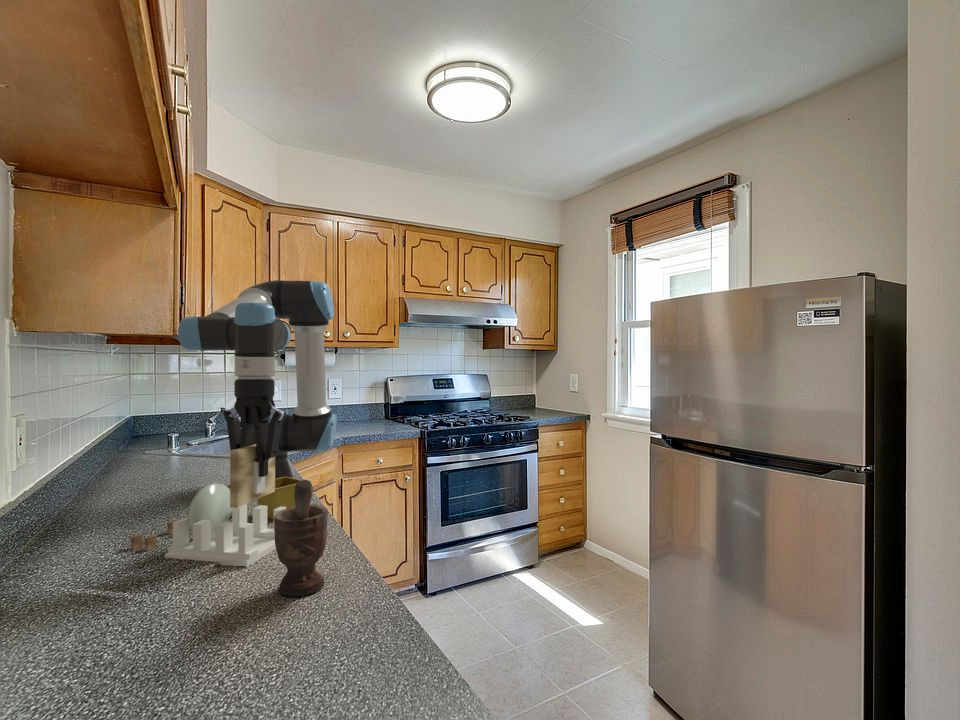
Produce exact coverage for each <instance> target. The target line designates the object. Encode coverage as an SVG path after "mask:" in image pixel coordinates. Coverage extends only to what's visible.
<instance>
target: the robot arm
mask: <svg viewBox="0 0 960 720" xmlns="http://www.w3.org/2000/svg"><path fill="white" fill-rule="evenodd" d="M333 301H334V300H333V296H332V292H331V288H330V287H329V285H328V284H327V283H326V282H324V281H316V280H283V279H282V280H281V279H280V280H279V279H278V280H277V279H276V280H275V279H274V280H269V281H264V282H262V283H261V282H260V283H257V284H255V285H252V286H249V287H247V288H246V289H244V290H242V291H241V292H240V294H238V296H237V298H235V299H234V300H232V301H231V302H229V303H227V304H225V305H223V306H222V307H219V308H218V309H216V310H215V311H213V312H211V313H209V314H207V315H205V316H197V315H195V316H186V317H183V318H182V319H181V321H180V322H179V324H178V327H177V329H178V330H177V335H178V340H179V343H180V345H181V346H182V348H183V349H185V350H187V351H200V352H205V351H206V352H207V351H210V352H211V351H234V376H235V377H237V379H235V380H234V382H233V383H234V384H233V385H234V387H233V389H234V390H233V391H234V393H233V395H234V396H235V398H236V399H235V402H234V406H233V407H231V408H230V409H226V410H224V411H223V412H222V415H223V417H224V419H225V422H226V426H227V434H228V441H229V448H230V451H231V450H235V449H239V448H243V447H247V446H251V445H255V444H256V450H257V459H255V462H254V472H253V494H258V493H260V492H263V491H265V476H267V475H268V460H269V459H270V458H272V457H275V479H277V478H281V477H290V478H294V474H293V472H292V469H291V465H290V463H289V460H288V457H289V456H288V453H294V452H298V453H299V452H317V453H318V452H323V451H328V450H330V449H331V448H332V447H333V445H334V441H335V439H336V438H335V437H336V432H337V425H338V424H337V423H338V419H337V417H338V416H337V415H336V414H334V413H332V408H331V406H329V405H328V404H327V395H326V391H327V390H326V366H325V365H326V363H325V362H326V360H325V357H326V355H325V330H326V328H327V327H328V326H329V323H330V322H329V321H331V320H333V319H334V316H335V312H334V311H335V307H334V302H333ZM282 320H288V325H287V324H286V323H285V322H283V321H282ZM290 328H291V329H292V330H294V350H295V352H294V355H295V375H296V398H297V406H296V407H295V408H294V409H293V410H292V414H289V412H288V410H286V409H285V410H281V409H279V408H277V407H276V404H275V402H274V396H275V383H276V381H275V380H274V379H273V378H272V377H274V376H275V372H276V368H275V367H276V364H275V361H276V360H275V359H276V357H275V356H276V355H275V352H278V351H281V350H283V349H285V348H286V347H287V346H288V345H289V343H290V341H291V337H292V332H291V330H290Z"/></svg>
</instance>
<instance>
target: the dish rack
mask: <svg viewBox="0 0 960 720" xmlns="http://www.w3.org/2000/svg"><path fill="white" fill-rule="evenodd" d="M284 509H286V507H281V506H280V507H278V508H276V509H274V516H275V515H276V513H278V512H279V511H281V510H284ZM177 520H178V519H177ZM272 526H273V528H269V527H268V518H267V506H265V505H258V506H255V507H254V508H252V522H251V523H250V522H248V503H247V504H245V505H243V506H240V507H238V508H233V507H232V517H231V521H228V522H227V521H225V522H222V523H220V524H218V525H216V536H215V537H213V538H211V520H201V521H199V522H197V523H194V524H193V534H192V540H191V541H190V538H189V537H190V533H189V524H188V518H180V519H179V520H178V521H175V522H173V535H172V545H171V546H169V547H168V549H167V550H168V551H167V552H166V553H164V558H167V559H179V560H191V561H204V562H215V563H216V564H221V565H220V566H225V565H233V566H232V567H236V566H245V567H244V568H249V567H250V566H251V565H250V564H252V565H253V564H255V563H256V562H258V561H260V560H261V559H263V558H264V557H266V556H268V555H269V554H271V553H272V552H274V551H275V550H276V546H275V529H274V524H273V525H272ZM273 550H274V551H273ZM270 552H271V553H270ZM262 557H263V558H262ZM259 559H260V560H259ZM254 562H255V563H254ZM249 565H250V566H249Z"/></svg>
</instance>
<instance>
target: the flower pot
mask: <svg viewBox="0 0 960 720" xmlns="http://www.w3.org/2000/svg"><path fill="white" fill-rule="evenodd" d="M301 480H302V479H299V478H295V477H293V478H290V477H281V478H277V479H275V492H273V493H270V494H268V495H266V496H263V497H261V498H259V499H257V504H258V506H259V505H265V506H267V519H271V520H274V509H276V508H278V507H280V506H281V507H286V508H289V507H294V506H296V505H295V499H294V491H295V486H296V484H297V483H298V482H299V481H301Z"/></svg>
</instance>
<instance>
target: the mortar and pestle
mask: <svg viewBox="0 0 960 720" xmlns="http://www.w3.org/2000/svg"><path fill="white" fill-rule="evenodd" d="M300 480H301V481H299V482H298V483H297V484H296V486H295V491H294V499H295V505H296V506H294V507H289V508H286V509H284V510H281V511H279V512H278V513H276V515H275V516H274V519H273V525H274V529H275V546H276V549H275V550H276V553H277V554H276V555H277V557H278V561H280V563H281V564H282V565H284V566H285V567H286V569H287V571H286V573H285V574H284V576H283V577H282V578H281V581H280V583H279V586H278V592H279V594H281V595H282V596H287V597H297V596H302V597H304V596H303V595H306V596H309V595H308V594H311V593H314V592H316V591H317V592H319V591H320V590H322V587H324V585H325V578H324V574H323V573H322V572H320V571H319V570H318V569H317V568H316V563H317V562H318V561H320V559H321V558H322V556H323V554H324V552H325V548H326V545H327V538H328V518H329V517H328V516H329V515H328V514H329V509H328V508H327V507H326V506H323V505H320V504H316V503H315V504H311V503H312V500H313V499H312V498H313V493H314V487H313V484H312V482H311V481H310V480H308V479H300ZM319 589H320V590H319ZM317 592H316V593H317ZM314 594H315V593H314ZM311 595H312V594H311Z"/></svg>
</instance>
